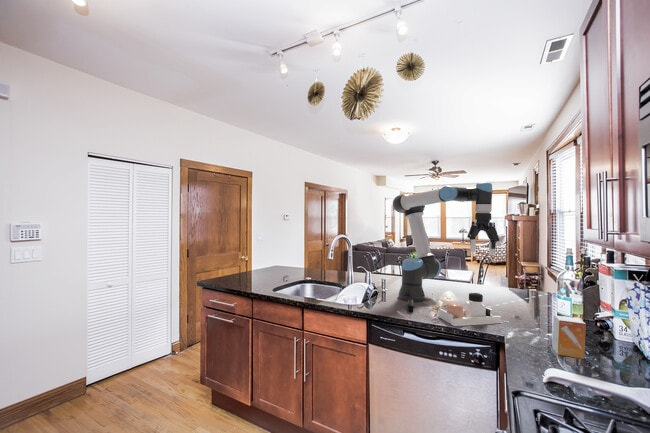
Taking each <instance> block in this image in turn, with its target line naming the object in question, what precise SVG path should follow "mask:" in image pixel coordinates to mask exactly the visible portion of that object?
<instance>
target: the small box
mask: <svg viewBox="0 0 650 433" xmlns="http://www.w3.org/2000/svg"><path fill="white" fill-rule="evenodd" d="M586 325H587V324H586V322H584V321H583V320H582V319H581V318H579V317H572V316H564V315H555V314H554V315H553V322H552V345H551V347H552V348H551V349H553V351H554V352H555V354H557V355H558V356H563V357H570V358H575V359H582V360H584V359H585V349H586V327H587V326H586Z"/></svg>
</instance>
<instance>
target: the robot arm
mask: <svg viewBox="0 0 650 433" xmlns="http://www.w3.org/2000/svg"><path fill="white" fill-rule="evenodd" d="M451 201H452V202H461V203H463V202H475V207H474V208H475V210H474V211H475V214H474V220H475V221H471V226H470V228H469V231H468V234H467V238H468V239H469V245H470V246H469V248H470V249H469V250H470V252H472V253H473V252H476V251H477V250H476V245H477V243H476V242H477V240H476V238H477V236H478V235H479V233H480V232H482V231H483V232H485V234H486V236H487V237H488V239H489V242H488V244H489V245H488V256H495V254H496V253H495V250H496V249H497V248H496V246H497V245H496V244H497V243H498V242H500V238H499V235H498V232H497V228H496V223H495V222H494V221H493V222H491V220H492V211H493V210H492V203H493V183H491V182H478V183H476V185H475V187H474V186H473V187H465V186H455V185H454V186H453V185H444V186H442V187H441V188H437V189H432V190H427V191H424V192H418V193H413V194H400V195H397V196H395V198H393V201H392V208H393V209H394V210H395V212H396V213H399V214H404V217H405V219H407V220H408V224H409V228H410V231H411V236H412V240H413V244H414V247H415V253H416V257H409V258H405V259H403V261H402V265H401V286H400V289H399V291H398V295H397V296H398V298H399V300H402V301H406V302H408V300H409V299H413V303H417V302H418V303H420V302H424V301H425V300H426V295H425V292H424V288H423V280H428V279H430V280H431V279H434V278H437V277H438V276H440V274H441V272H442V265H441V262H440V261H439V260H438V259H436V255H435V254H434V253H432V250H431V248H430V244H429V240H428V236H427V231H426V227H425V224H424V219H423V215H424V211H425V208H426V206H428V205H433V204H438V203H439V204H440V203H445V202H451Z"/></svg>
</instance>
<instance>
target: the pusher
mask: <svg viewBox="0 0 650 433" xmlns="http://www.w3.org/2000/svg"><path fill="white" fill-rule="evenodd" d="M486 316H493V309H492V308H489V307H487V306H486Z"/></svg>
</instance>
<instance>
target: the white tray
mask: <svg viewBox="0 0 650 433" xmlns="http://www.w3.org/2000/svg"><path fill="white" fill-rule="evenodd" d="M436 316H437V317H439V319H442V320H443V321H445V322H447V323H449V324H451V325H452V326H454V327H460V326H462V327H463V326H475V325H477V326H478V325H488V324H489V325H493V324H503V323H504V322H502V316H501V315H492V316H486V317H470V318H467V317H466V316H465V309H463V318H454V319H453V315H452V314H450V313H448V312H447V310H445V309H443V308H439V309H438V311H437V315H436Z"/></svg>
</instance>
